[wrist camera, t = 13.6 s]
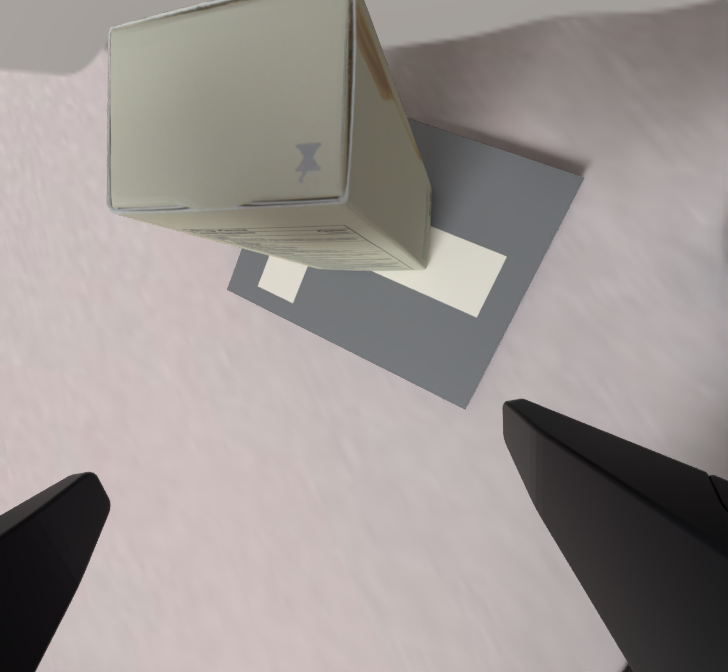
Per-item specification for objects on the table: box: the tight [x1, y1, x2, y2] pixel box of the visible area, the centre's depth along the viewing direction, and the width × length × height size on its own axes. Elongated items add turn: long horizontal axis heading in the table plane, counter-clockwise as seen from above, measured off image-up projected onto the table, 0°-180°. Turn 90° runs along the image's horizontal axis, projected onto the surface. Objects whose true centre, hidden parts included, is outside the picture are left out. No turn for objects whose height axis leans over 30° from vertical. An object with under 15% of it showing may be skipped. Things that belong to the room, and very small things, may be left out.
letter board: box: [227, 118, 584, 409], centre depth 20 cm, size 15×12×1 cm
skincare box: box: [107, 0, 432, 271], centre depth 13 cm, size 6×4×12 cm
